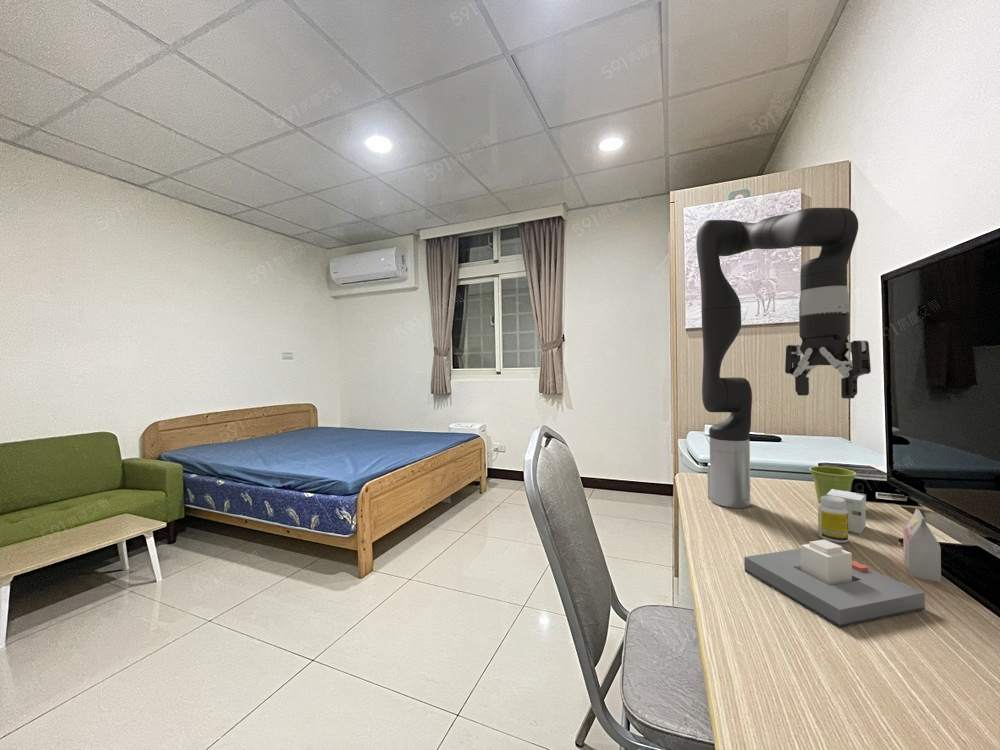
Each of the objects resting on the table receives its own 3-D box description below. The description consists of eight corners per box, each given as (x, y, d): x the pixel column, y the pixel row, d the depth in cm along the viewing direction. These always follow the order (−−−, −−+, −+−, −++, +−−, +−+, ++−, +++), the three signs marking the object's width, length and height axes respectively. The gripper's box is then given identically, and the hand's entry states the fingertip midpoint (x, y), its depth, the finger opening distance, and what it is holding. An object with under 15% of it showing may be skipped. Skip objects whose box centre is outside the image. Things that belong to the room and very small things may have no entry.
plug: (801, 580, 66) (800, 540, 66) (823, 576, 67) (823, 536, 67) (828, 595, 62) (828, 552, 62) (852, 590, 63) (851, 548, 63)
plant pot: (802, 502, 104) (802, 469, 104) (818, 495, 109) (818, 464, 109) (847, 512, 96) (847, 477, 96) (862, 505, 101) (862, 471, 101)
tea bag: (933, 566, 70) (932, 510, 70) (940, 582, 65) (940, 522, 65) (903, 560, 73) (903, 506, 73) (909, 575, 68) (908, 517, 67)
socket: (744, 570, 70) (744, 553, 70) (816, 559, 74) (815, 542, 74) (840, 627, 55) (839, 605, 55) (924, 609, 58) (924, 588, 58)
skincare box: (825, 526, 89) (825, 493, 89) (831, 519, 93) (830, 488, 93) (862, 534, 84) (861, 500, 84) (866, 526, 88) (866, 493, 88)
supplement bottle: (854, 544, 80) (853, 502, 79) (827, 542, 81) (826, 501, 80) (838, 534, 84) (838, 495, 84) (813, 533, 85) (813, 494, 85)
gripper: (774, 317, 82) (775, 395, 83) (848, 306, 69) (849, 400, 69) (803, 317, 84) (804, 394, 84) (881, 307, 70) (882, 398, 70)
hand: (824, 396), depth 77 cm, fingers open, 8 cm apart
